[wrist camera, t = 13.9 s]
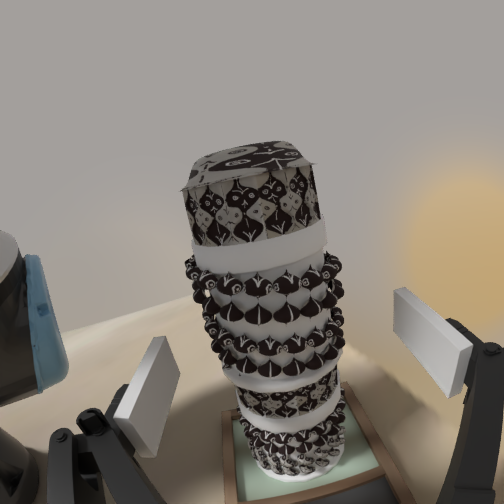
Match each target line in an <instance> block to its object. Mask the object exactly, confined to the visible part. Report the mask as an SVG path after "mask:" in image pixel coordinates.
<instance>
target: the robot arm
mask: <svg viewBox="0 0 504 504" xmlns="http://www.w3.org/2000/svg"><path fill="white" fill-rule="evenodd" d="M393 326H394V327H393V331H394V332H395V333H396V334H397V336H398V337H399V338H400V339H401V340H402V342H403V343H404V344H405V345H406V346H407V348H408V349H409V350H410V351H411V352H412V354H413V355H414V356H415V357H416V359H417V360H418V361H419V362H420V363H421V365H422V366H423V367H424V368H425V370H426V371H427V372H428V373H429V375H430V376H431V377H432V378H433V380H434V381H435V382H436V383H437V385H438V386H439V387H440V389H441V390H442V391H443V392H444V394H445V395H446V396H447V398H451V397H453V396H455V395H457V394H459V393H460V392H461V391H462V387H463V384H464V383H465V384H466V386H467V387H468V389H467V392H466V395H465V398H464V402H463V404H464V410H463V415H462V420H461V424H460V429H459V433H458V437H457V441H456V445H455V449H454V452H453V456H452V459H451V463H450V466H449V469H448V472H447V475H446V478H445V481H444V484H443V487H442V489H441V492H440V495H439V497H438V500H437V502H436V504H494V500H495V490H493V489H492V486H493V481H494V477H495V472H496V467H497V461H498V455H499V448H500V441H501V433H502V423H503V408H504V348H502V347H501V346H500V345H498V344H496V343H493V342H488V343H483V342H482V341H481V340H480V339H479V338H477V337H476V336H475V335H474V334H473V333H472V332H470V331H468V329H467V328H466V327H464V326H463V325H462V324H461V323H459V322H458V321H456V320H453V319H451V318H449V319H446V320H445V319H443V318H442V317H441V316H440V315H439V314H437V313H436V312H435V311H434V310H433V309H431V308H430V307H429V306H428V305H427V304H425V303H424V302H423V301H422V300H420V299H419V298H418V297H417V296H415V295H414V294H413V293H412V292H411V291H409V290H408V289H407V288H406V287H403V288H399V289H396V290H394V325H393ZM68 369H69V362H68V358H67V355H66V351H65V348H64V345H63V341H62V338H61V335H60V332H59V328H58V325H57V321H56V318H55V314H54V311H53V307H52V303H51V300H50V296H49V292H48V288H47V284H46V280H45V275H44V272H43V268H42V265H41V262H40V258H39V257H38V256H37V255H28V254H27V255H25V257H24V258H22V256H21V254H20V251H19V248H18V245H17V242H16V240H15V238H14V237H13V236H12V235H10V234H8V233H5V232H3V231H1V230H0V407H2V406H5V405H8V404H11V403H14V402H16V401H19V400H22V399H25V398H28V397H30V396H33V395H36V394H41V393H42V392H43V390H45V389H47V388H49V387H51V386H53V385H55V384H57V383H59V382H61V381H62V380H63V379H64V378H65V377H66V375H67V373H68ZM179 377H180V371H179V369H178V366H177V364H176V361H175V359H174V356H173V354H172V351H171V349H170V346H169V344H168V341H167V338H166V336H161V337H154V338H153V339H152V341H151V343H150V345H149V347H148V349H147V351H146V353H145V355H144V357H143V359H142V360H141V362H140V364H139V366H138V368H137V370H136V372H135V374H134V376H133V378H132V380H131V382H130V384H124V385H123V386H122V387H121V388H119V389H118V390H117V392H116V394H115V396H114V399H113V400H112V402H111V404H110V405H109V407H108V409H107V411H106V413H105V415H103V413H102V412H101V411H100V410H99V409H97V408H90V409H87V410H85V411H83V412H81V413H80V414H79V416H78V417H77V419H76V424H77V425H78V426H79V428H80V429H81V430H82V432H83V434H77V435H74V434H73V433H72V432H71V430H69V429H68V428H60V429H58V430H56V431H55V432H53V434H52V435H51V437H50V441H49V453H48V470H47V504H106V501H105V495H104V489H103V483H102V476H103V478H104V480H105V482H106V484H107V486H108V488H109V490H110V492H111V494H112V496H113V498H114V500H115V501H116V503H117V504H167V503H166V502H165V501H164V499H163V498H162V497H161V495H160V494H159V493H158V491H157V490H156V489H155V487H154V486H153V484H152V483H151V482H150V480H149V479H148V477H147V476H146V474H145V473H144V471H143V470H142V468H141V467H140V465H139V464H138V462H137V461H136V459H135V458H134V457H133V455H134V453H135V450H136V452H137V453H138V454H139V455H140V457H143V458H156V456H157V452H158V448H159V445H160V441H161V438H162V434H163V431H164V427H165V424H166V420H167V417H168V413H169V410H170V407H171V403H172V400H173V396H174V393H175V390H176V387H177V383H178V380H179ZM101 473H102V476H101ZM38 480H39V475H38V468H37V465H36V462H35V460H34V458H33V457H32V455H31V454H30V453H29V452H28V451H27V450H26V448H25V447H24V446H23V445H22V444H21V443H20V442H19V441H18V440H17V439H15V438H14V437H12V436H11V435H10V434H8V433H7V432H6V431H4V430H3V429H2V428H1V427H0V504H32V502H33V500H34V498H35V495H36V492H37V488H38Z"/></svg>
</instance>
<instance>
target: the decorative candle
mask: <svg viewBox="0 0 504 504" xmlns="http://www.w3.org/2000/svg"><path fill="white" fill-rule="evenodd" d="M312 164H313V163H310V162H308V161H307V160H306V159H304V157H303V156H302V155H301V154H300V152H299V151H298V150H297V149H296V148H295V147H294V146H293V145H292V144H290V143H288V142H285V141H272V142H264V143H256V144H250V145H245V146H239V147H235V148H231V149H226V150H223V151H219V152H216V153H212V154H209V155H207V156H204V157H202V158H200V159H198V160H197V161H196V162H195V164H194V166H193V167H192V170H191V173H190V177H189V180H188V183H187V185H186V186H185V188H184V189H182V190H181V191H182V192H183V197H184V202H185V207H186V211H187V215H188V219H189V223H190V227H191V231H192V236H193V240H192V248H193V252H194V255H193V256H192V258H193V259H191V258H190V259H188V260H186V261H185V266H186V268H187V270H186V276H187V277H188V278H189V279H191V280H194V282H193V284H192V288H193V289H194V290H195V292H194V294H193V299H194V301H195V302H196V303H199V304H202V308H203V312H202V316H203V318H204V320H206V323H205V331H206V332H207V333H209V335H210V337H211V338H212V339H214V340H213V341H212V343H211V348H212V350H213V351H214V352H215V353H220V354H219V356H218V357H219V359H220V360H221V363H222V369H223V372H224V375H225V376H226V377H227V378H228V379H230V380H231V381H232V382H233V383H234V384H235V387H236V390H235V392H236V396H237V400H238V404H239V405H238V406H237V412H238V413H239V414H241V415H240V417H239V422H240V424H241V425H243V426H246V427H245V429H244V435H245V436H246V437H247V439H248V447H249V449H250V450H251V451H252V456H253V458H254V459H255V460H256V462H257V465H258V467H259V468H260V469H261V470H262V471H263V472H264V473H265V474H266V475H268V476H269V477H271V478H274V479H277V480H280V481H283V482H307V481H310V480H312V479H315V478H318V477H321V476H323V475H325V474H326V473H327V472H328V471H330V470H331V469H332V468H333V467H334V466H336V465H337V464H338V462H339V460H340V458H341V456H342V454H343V452H344V443H345V442H346V440H345V438H344V435H343V434H344V433H345V432H346V429H345V427H344V426H339V424H340V423H343V422H344V421H345V419H346V416H345V414H344V413H343V412H341V411H343V410H344V408H345V406H346V403H345V401H344V400H343V399H342V398H343V397H344V395H345V390H344V389H343V388H342V387H340V376H339V371H338V369H337V362H338V360H339V358H340V357H341V355H342V353H343V350H342V347H343V346H344V345H345V340H344V338H343V330H342V329H341V328H339V327H341V326H342V325H343V324H344V318H343V316H342V315H341V314H342V311H341V309H340V308H338V307H335V305H336V304H337V301H338V299H340V298H341V297H343V295H344V290H343V288H342V283H341V282H340V281H339V280H336V279H334V278H335V276H336V275H337V273H338V272H340V271H341V269H342V264H341V262H340V261H339V260H338V258H337V257H336V256H333V255H330V254H329V253H328V252H327V251H326V254H324V253H323V247H324V246H325V245H326V244H327V237H326V230H325V223H324V217H323V214H320V211H319V204H318V198H317V192H316V187H315V181H314V176H313V170H312ZM329 287H330V289H331V290H332V291H331V292H330V291H328V288H329ZM205 289H206V290H209V292H210V297H206V295H205ZM214 314H215V315H216V317H215V320H214ZM331 318H332V320H333V321H331Z"/></svg>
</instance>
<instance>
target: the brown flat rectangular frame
mask: <svg viewBox="0 0 504 504" xmlns="http://www.w3.org/2000/svg"><path fill="white" fill-rule="evenodd" d="M340 387H342V388H343V389H344V390H345V395H344V397H343V398H342V399H343V400H344V401H345V403H346V406H345V408H344V410H343V411H341V412H343V413H344V414H345V416H346V419H345V421H344V422H343V423H340V424H339V426H344V427H345V429H346V432H345V433H344V434H343V435H344V438H345V440H346V442H345V443H344V452H343V454H342V456H341V458H340V460H339V462H338V464H337V465H336V466H334V467H333V468H332V469H331V470H330V471H328V472H327V473H326V474H325V475H323V476H321V477H318V478H315V479H312V480H310V481H307V482H283V481H280V480H277V479H274V478H271V477H269V476H268V475H266V474H265V473H264V472H263V471H262V470H261V469H260V468H259V467H258V465H257V462H256V460H255V459H254V458H253V456H252V451H251V450H250V449H249V447H248V439H247V437H246V436H245V435H244V429H245V427H246V426H243V425H241V424H240V422H239V417H240V415H241V414H239V413H238V412H237V409H234V410H228V411H222V445H223V472H224V493H225V504H417V503H416V501H415V499H414V498H413V496H412V494H411V492H410V490H409V489H408V487H407V485H406V483H405V481H404V480H403V478H402V476H401V474H400V473H399V471H398V469H397V467H396V466H395V464H394V462H393V460H392V458H391V457H390V455H389V453H388V451H387V450H386V448H385V446H384V444H383V443H382V441H381V439H380V437H379V436H378V434H377V432H376V431H375V429H374V427H373V425H372V424H371V422H370V420H369V418H368V417H367V415H366V413H365V411H364V410H363V408H362V406H361V405H360V403H359V401H358V399H357V398H356V396H355V394H354V393H353V391H352V389H351V388H350V386H349V384H348V382H344V383H340Z"/></svg>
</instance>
